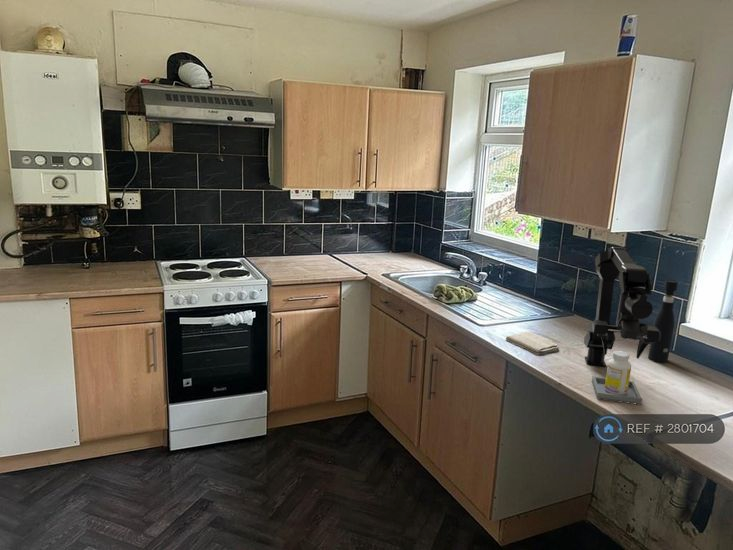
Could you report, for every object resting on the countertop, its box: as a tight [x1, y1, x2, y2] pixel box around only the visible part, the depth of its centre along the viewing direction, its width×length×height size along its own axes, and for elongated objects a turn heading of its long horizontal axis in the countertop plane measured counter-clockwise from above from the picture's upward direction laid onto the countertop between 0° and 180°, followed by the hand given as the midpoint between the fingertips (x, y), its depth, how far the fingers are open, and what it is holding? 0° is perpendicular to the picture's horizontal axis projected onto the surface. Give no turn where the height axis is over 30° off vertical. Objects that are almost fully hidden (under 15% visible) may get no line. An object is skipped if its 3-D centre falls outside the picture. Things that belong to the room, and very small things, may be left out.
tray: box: [591, 375, 643, 405], centre depth 173 cm, size 13×13×2 cm
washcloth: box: [505, 331, 560, 356], centre depth 211 cm, size 12×18×3 cm, turn 31°
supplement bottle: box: [605, 350, 632, 395], centre depth 172 cm, size 7×7×13 cm
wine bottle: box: [647, 279, 679, 364], centre depth 197 cm, size 6×6×30 cm
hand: (621, 356), depth 170 cm, fingers open, 9 cm apart
